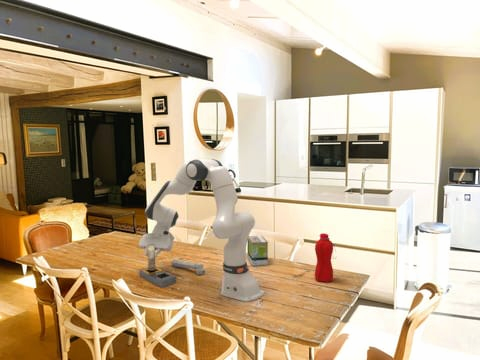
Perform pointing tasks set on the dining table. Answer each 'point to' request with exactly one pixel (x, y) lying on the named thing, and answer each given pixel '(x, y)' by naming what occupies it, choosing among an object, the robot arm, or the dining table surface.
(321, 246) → the water bottle
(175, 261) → the grey long bar
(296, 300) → the dining table surface
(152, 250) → the peg
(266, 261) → the tea box
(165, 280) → the grey peg hole block
